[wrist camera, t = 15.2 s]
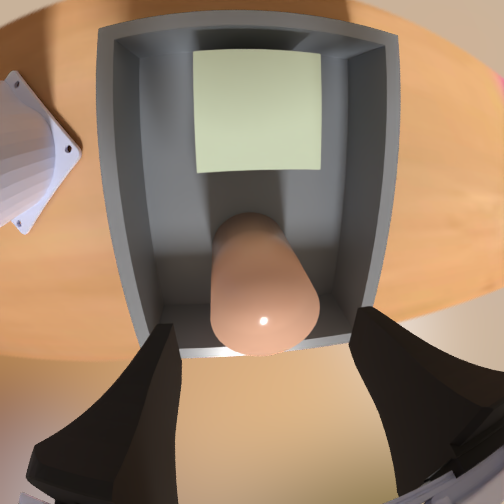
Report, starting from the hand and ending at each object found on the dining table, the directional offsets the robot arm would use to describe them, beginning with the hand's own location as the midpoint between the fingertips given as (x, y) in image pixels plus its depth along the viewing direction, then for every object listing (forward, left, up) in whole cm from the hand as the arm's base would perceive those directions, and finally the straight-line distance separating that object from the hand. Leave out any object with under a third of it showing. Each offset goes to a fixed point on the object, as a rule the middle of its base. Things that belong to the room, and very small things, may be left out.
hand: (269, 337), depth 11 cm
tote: (-3, +3, -9) cm, 10 cm away
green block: (-6, +5, -8) cm, 12 cm away
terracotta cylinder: (0, 0, -8) cm, 8 cm away
